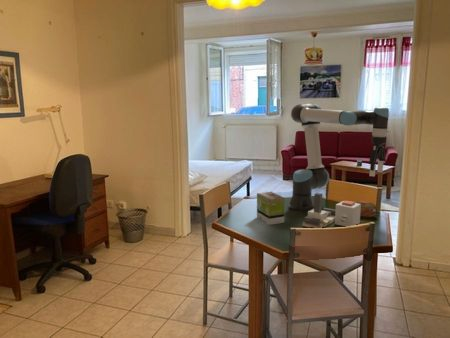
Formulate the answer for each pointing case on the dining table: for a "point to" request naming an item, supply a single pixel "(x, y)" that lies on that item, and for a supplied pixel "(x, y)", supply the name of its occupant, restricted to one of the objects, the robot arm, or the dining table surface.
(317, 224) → the rail board
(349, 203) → the button
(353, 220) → the cabinet
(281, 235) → the dining table surface
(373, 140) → the robot arm
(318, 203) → the grey white tall piece
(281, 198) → the tea box
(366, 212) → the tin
